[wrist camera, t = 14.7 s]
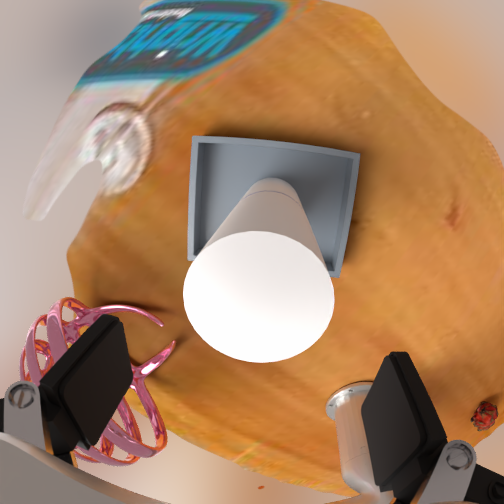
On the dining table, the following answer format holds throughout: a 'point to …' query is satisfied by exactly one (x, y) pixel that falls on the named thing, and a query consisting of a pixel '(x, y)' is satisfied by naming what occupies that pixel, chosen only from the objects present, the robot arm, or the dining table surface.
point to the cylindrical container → (261, 279)
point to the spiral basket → (113, 433)
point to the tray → (272, 166)
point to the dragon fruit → (485, 416)
